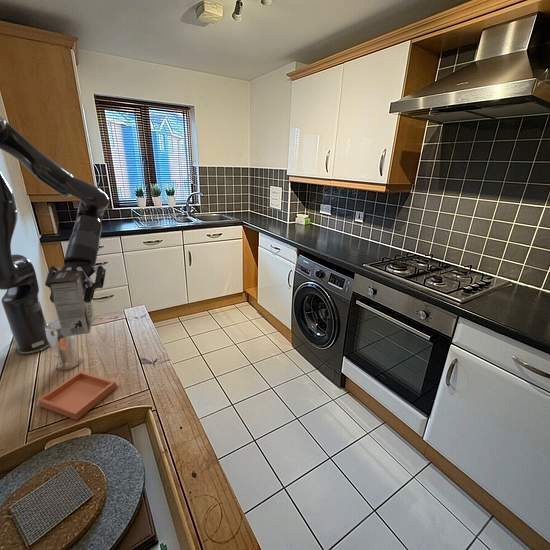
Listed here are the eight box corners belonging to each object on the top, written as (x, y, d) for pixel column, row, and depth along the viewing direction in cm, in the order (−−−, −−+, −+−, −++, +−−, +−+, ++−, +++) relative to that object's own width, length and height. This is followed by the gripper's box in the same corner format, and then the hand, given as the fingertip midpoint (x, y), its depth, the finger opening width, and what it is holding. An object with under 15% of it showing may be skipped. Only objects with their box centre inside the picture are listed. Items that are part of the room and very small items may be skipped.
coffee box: (70, 321, 86) (57, 270, 80) (95, 318, 88) (84, 267, 82) (62, 337, 78) (46, 282, 72) (89, 333, 80) (77, 279, 74)
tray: (39, 406, 78) (37, 400, 77) (82, 376, 89) (80, 370, 89) (77, 420, 74) (75, 414, 73) (116, 387, 85) (115, 381, 85)
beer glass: (68, 372, 91) (57, 331, 85) (50, 369, 92) (37, 328, 87) (86, 359, 97) (76, 320, 92) (68, 356, 98) (58, 317, 93)
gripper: (48, 242, 81) (32, 298, 74) (103, 242, 82) (92, 297, 76) (64, 255, 88) (50, 307, 81) (114, 255, 89) (104, 305, 83)
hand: (70, 302), depth 78 cm, fingers closed on coffee box, 7 cm apart
